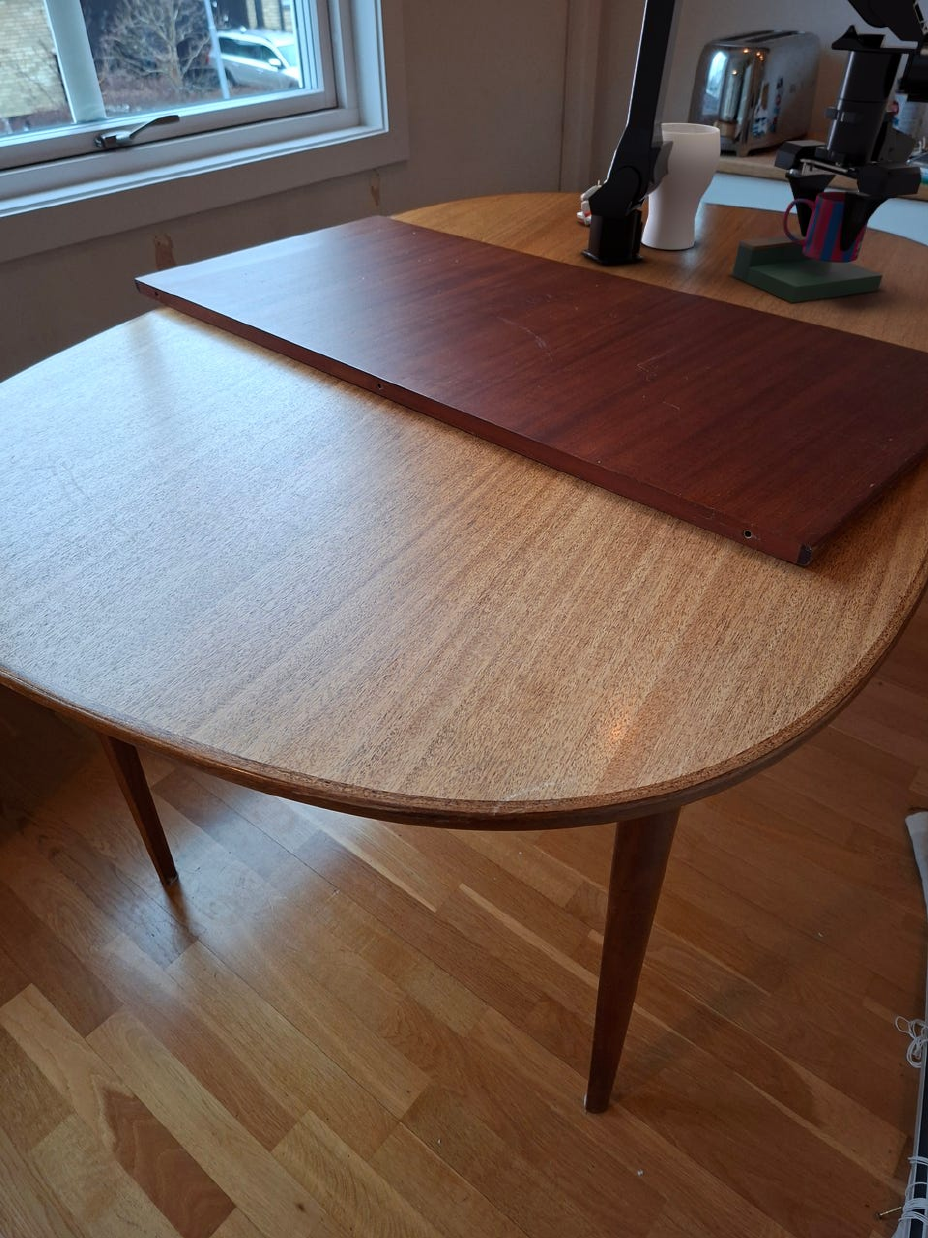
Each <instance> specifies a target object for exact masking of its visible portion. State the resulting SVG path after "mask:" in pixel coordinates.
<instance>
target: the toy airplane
mask: <svg viewBox="0 0 928 1238" xmlns="http://www.w3.org/2000/svg"><path fill="white" fill-rule="evenodd" d="M605 182H607V179H606V180H604V182H603V184H604V183H605ZM600 183H601V182H600V180H598V183H597V185H593V186H592V187H591V188H589V189H588V190H586V192H584V193H582V194H581V195H580V201H582V202H581V204H580V209H581V211H579V212H577V213H576V215H577V218H578V219H581V220H583V221H584V224H585V225H586V226H590V223H591V212H590V208H589V203H588V198H589V197H590V196H591V195H592V194H593V193H595V192H596V191H597V190H598V189H599V188H600V187H601V186H602V185H600Z"/></svg>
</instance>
